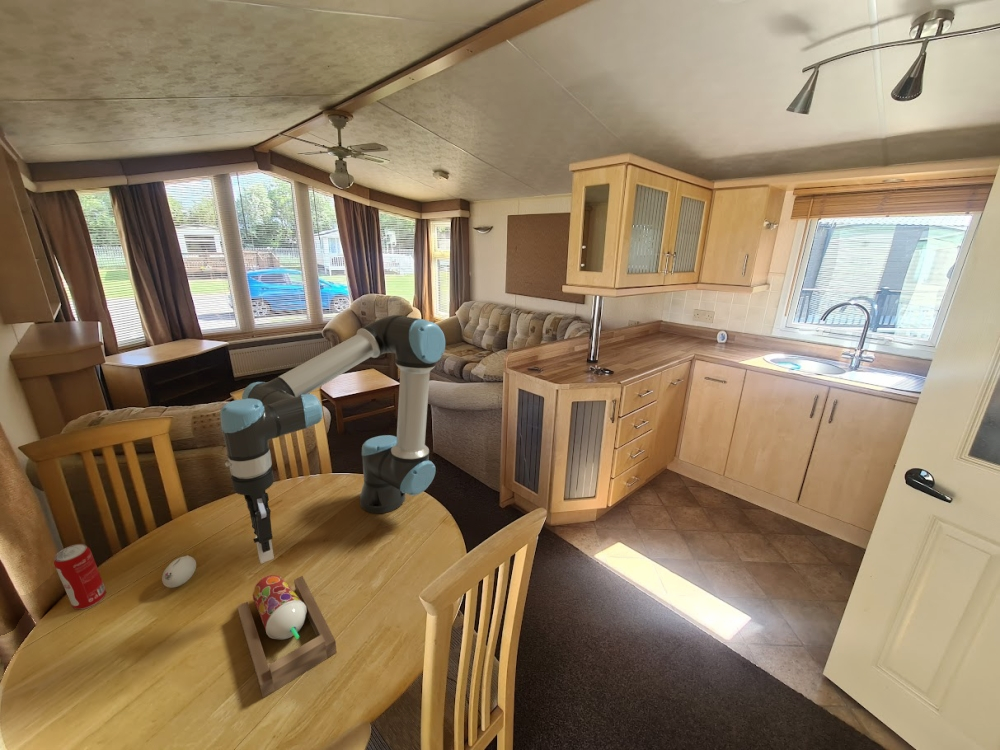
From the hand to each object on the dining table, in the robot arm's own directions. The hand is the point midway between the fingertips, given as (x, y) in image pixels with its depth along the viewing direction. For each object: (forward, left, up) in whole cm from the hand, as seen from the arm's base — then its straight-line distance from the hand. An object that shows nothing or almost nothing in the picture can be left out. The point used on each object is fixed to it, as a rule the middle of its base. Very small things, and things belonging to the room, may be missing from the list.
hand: (266, 558), depth 91 cm
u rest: (0, +10, -13) cm, 17 cm away
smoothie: (+1, -3, -10) cm, 11 cm away
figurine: (+16, -21, -14) cm, 30 cm away
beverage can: (+33, -28, -14) cm, 45 cm away
